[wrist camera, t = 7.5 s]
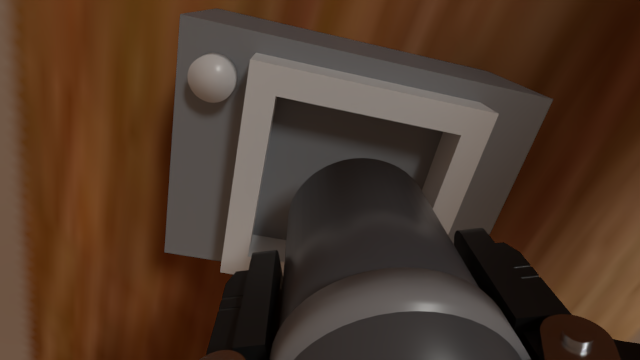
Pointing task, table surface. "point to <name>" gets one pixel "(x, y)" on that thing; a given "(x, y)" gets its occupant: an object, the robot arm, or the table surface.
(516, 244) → the table surface
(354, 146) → the camera body
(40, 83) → the table surface
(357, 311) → the lens
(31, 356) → the table surface
